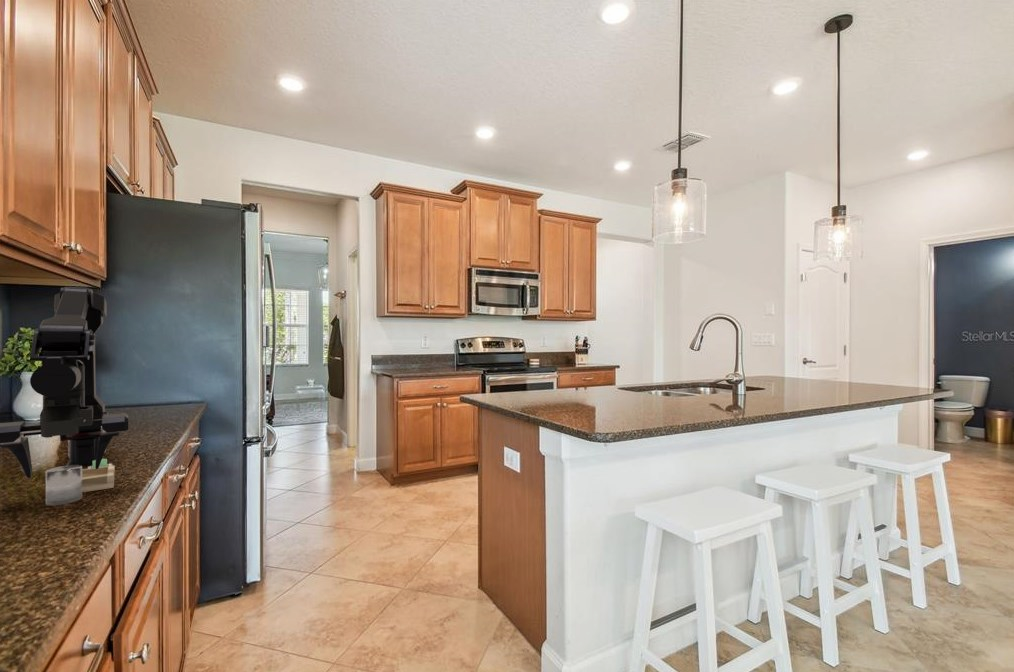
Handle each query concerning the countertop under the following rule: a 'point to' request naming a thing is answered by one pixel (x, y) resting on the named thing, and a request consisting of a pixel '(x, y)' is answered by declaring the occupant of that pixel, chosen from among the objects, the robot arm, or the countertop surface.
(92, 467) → the button housing
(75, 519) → the countertop surface
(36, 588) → the countertop surface
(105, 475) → the pallet
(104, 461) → the button
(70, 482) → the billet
